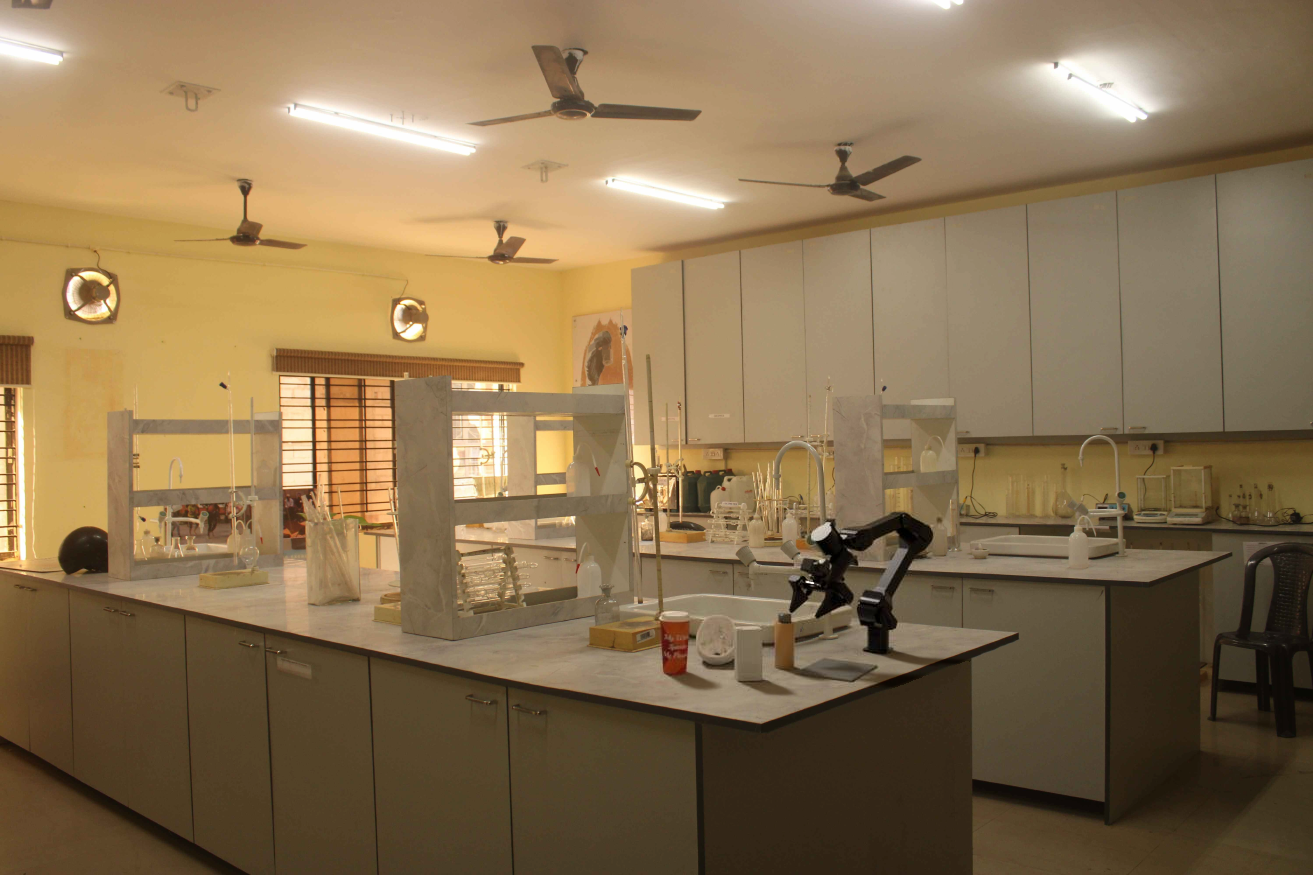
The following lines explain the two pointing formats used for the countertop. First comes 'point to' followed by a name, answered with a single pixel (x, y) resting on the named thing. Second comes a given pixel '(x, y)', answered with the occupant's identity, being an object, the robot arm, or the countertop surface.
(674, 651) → the paper cup
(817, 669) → the rubber mat
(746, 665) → the skincare box
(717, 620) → the skull bowl
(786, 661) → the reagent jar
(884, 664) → the countertop surface
